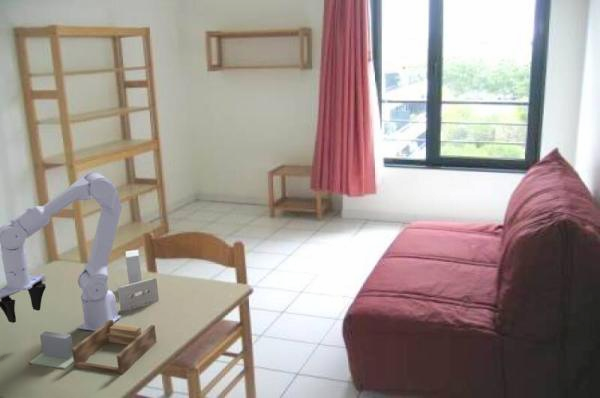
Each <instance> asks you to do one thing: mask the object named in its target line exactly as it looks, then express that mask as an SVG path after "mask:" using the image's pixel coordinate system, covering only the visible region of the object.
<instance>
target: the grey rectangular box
mask: <svg viewBox="0 0 600 398" xmlns="http://www.w3.org/2000/svg"><path fill="white" fill-rule="evenodd" d="M39 338H40V343H41V349H42V350H41V351H42V353H43V356H49V357H55V358H62V359H68V360H69V359H71V358H72V357H73V353H72V349H73V347H74V346H73V339H72V334H69V333H68V334H67V333H59V332H53V331H43V332H42V333H41V334H39Z"/></svg>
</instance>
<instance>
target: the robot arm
mask: <svg viewBox="0 0 600 398" xmlns="http://www.w3.org/2000/svg"><path fill="white" fill-rule="evenodd" d="M117 190H118V189H117V187H116V186H115V185H114V184H113V182H112V181H111V180H109V179H108V178H106V177H105V176H103V174H102V173H99V172H97V171H94V172H93V171H92V172H89V173H87V174H86V175H84V176H83V177H80V178H78V179H77V180H76V181H75V182H73V183H72V184H71V185H70V186H68V187H67V188H66V189H64V190H63V191H61V192H60V193H59V194H57V195H56V196H55V197H53V198H52V199H51V200H50V201H48V202H47V203H45V204H44V205H41V206H40V205H35V206H33V207H31V206H29V207H27V208H26V209H25V210H26V212H24V213H22V214H21V215H19V216H18V217H17V218H15V219H14V218H12V219H11V220H9V223H4V224H3V225H1V226H0V252H1V259H2V265H3V270H4V271H3V272H4V276H5V280H6V285H5V286H4V287H2V288H0V309H1V310H2V312H3V313H4V315H5V317H6V318H7V321H8V322H10V323H12V324H14V323H16V322H17V318H16V312H15V305H16V300H15V299H12V297H11V296H13V295H15V294H17V293H20V292H21V291H28V294H29V297H30V302H31V307H32V309H33V310H34V311H37V312H38V311H40V310H41V306H42V305H41V304H42V299H43V295H44V292H45V290H46V288H47V287H46V283H44V282H46V276H45V274H42V273H38V274H34V275H30V274H31V273H30V269H29V264H28V263H29V262H28V257H27V251H26V249H25V246H24V245H25V244H24V243H25V241H26V239H28V238H29V237H31V236H32V235H34V234H35V233H37V232H38V231H40V230H42V228H44V227H47V225H49V224H50V221H51V217H52V216H54V215H55V214H58V213H59V212H60V211H62V210H64V209H65V208H67V207H68V206H70V205H71V204H74V203H75V202H76V201H91V198H90V196H91V197H92V198H93V199H94V200H95V201H96V203H97V204H98V205H99V206H100V208H101V211H100V214H99V215H100V216H99V219H98V222H97V226H96V230H95V236H94V238H93V243H92V245H91V251H90V255H89V260H88V261H87V263H85V265H84V268H83V270H82V272H81V273H80V274H79V275H78V278H77V283H78V286H79V288H81V290H82V293H81V296H80V299H81V306H82V312H83V313H82V314H83V320H84V322H83V323H82V324H81V325H79V326H78V330H83V331H84V330H86V331H92V332H95V331H96V330H97V329H99V328H100V327H101V326H102V325H104V324H105V323H106V322H108V321H109V320H113V324H115V322H117V321H118V320H119V319H121V317H122V316H121V315H120V314H118V305H117V299H116V296H115V294H114V292H113V290H110V289H109V285H108V278H109V274H108V265H109V260H110V257H111V251H112V247H113V243H114V239H115V237H116V236H115V235H116V233H117V232H116V231H117V229H118V224H119V221H120V217H121V212H122V207H123V205H122V202H121V199H120V197H119V194H118V191H117Z"/></svg>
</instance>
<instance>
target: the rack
mask: <svg viewBox="0 0 600 398" xmlns="http://www.w3.org/2000/svg"><path fill="white" fill-rule="evenodd" d="M114 324H115V323H113V320H109V321H108V322H106V323H105V324H104V325H102V326H101V327H100V328H99V329H97V330H96V331H92V332H91V334H90V335H88V336H87V337H85V338H84V339H83V340H82V341H80V342H78V344H76V345H75V346H73V347H74V348H73V349H72V353H73V359H74V363H73V364H74V367H75V368H81V369H88V370H93V371H99V372H100V371H101V372H106V373H112V374H119V375H124V374H125V372H127V371H128V370H129V369H130V368H131V367H133V366H134V365H135V363H136V362H138V360H140V358H141V357H143V356H144V355H145V354H146V353H147V352H148V351H149V350H150V349H151V348H152V347H153V346H154V345H155V344H156V343H157V335H156V334H157V333H156V326H155V325H153V324H150V326H148V328H146V329H145V330H144V331H143V332H141V335H140V336H138V337H137V338H136V339H135V340H134V341H133V342H132V343H130V344H129V345H128V344H127V346H126V347H124V349H122V350H121V351H120V352H119V353H118V354H117V355H116V361H117V367H116V366H111V365H103V364H97V363H92V362H86V361H87V360H89V359H90V358H91V357H92V356H94V355H95V354H96V353H97V352H98V351H99V350H101V349H102V348H103V347H105V345H107V344H108V343H110V342H109V338H108V334H109V333H110V327H111V326H113V325H114ZM100 348H101V349H100ZM95 352H96V353H95ZM94 353H95V354H94ZM91 355H92V356H91ZM90 356H91V357H90ZM89 357H90V358H89ZM88 358H89V359H88Z"/></svg>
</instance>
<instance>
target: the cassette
mask: <svg viewBox="0 0 600 398" xmlns="http://www.w3.org/2000/svg"><path fill="white" fill-rule="evenodd" d="M157 280H158V279H157V278H156V277H151V278H148V279H143V280H142V281H140V282H136V283H133V284H129V283H128V284H126V285H121V286H119V287H117V292H118V300H119V309H120V311H121V312H125V311H129V310H132V309H133V310H134V309H137V308H140V307H143V306H147V305H151V304H153V303H155V302H159V301H160V297H159V289H158V281H157ZM139 292H142V293H139ZM136 293H139V294H136Z"/></svg>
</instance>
